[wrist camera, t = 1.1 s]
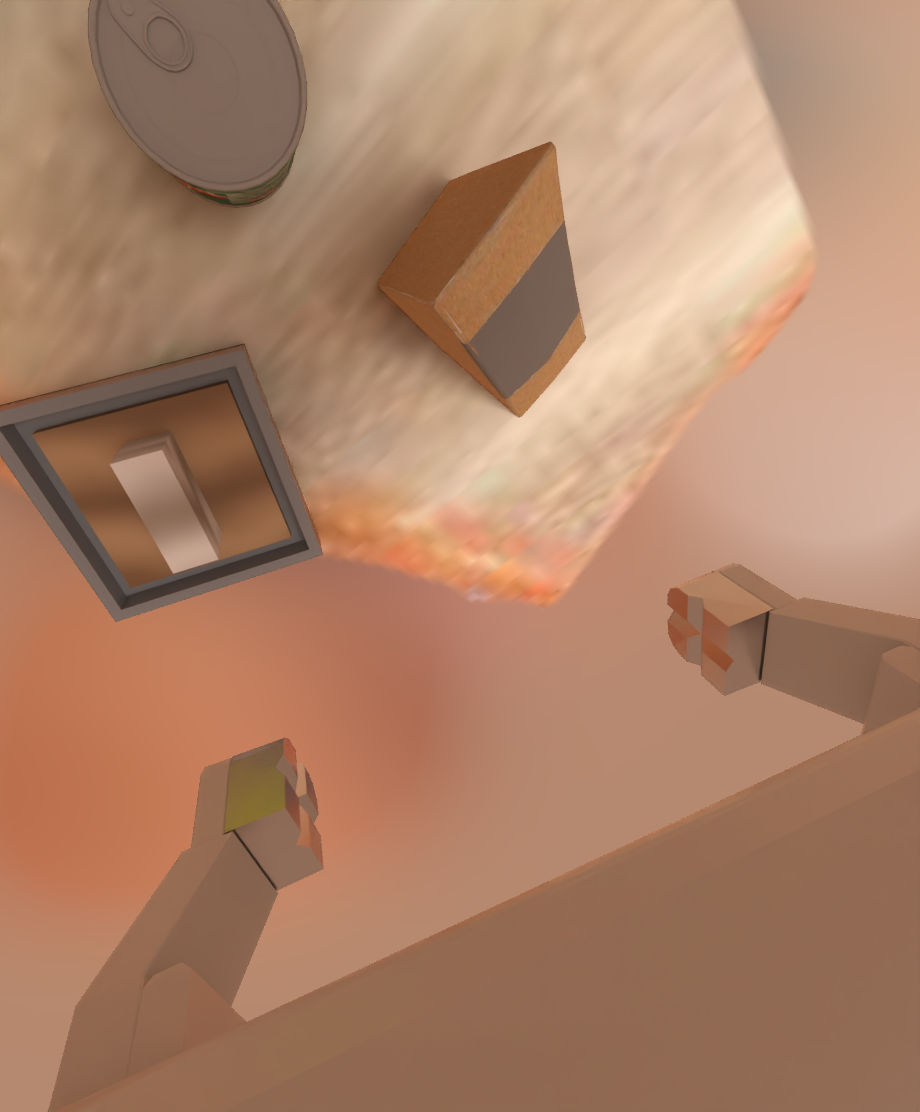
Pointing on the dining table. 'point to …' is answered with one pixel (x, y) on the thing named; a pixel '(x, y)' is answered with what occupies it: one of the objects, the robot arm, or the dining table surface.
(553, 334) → the sandwich container
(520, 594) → the dining table surface
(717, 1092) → the robot arm
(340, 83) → the dining table surface
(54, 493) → the tray
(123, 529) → the cover plate
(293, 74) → the canned tomato
